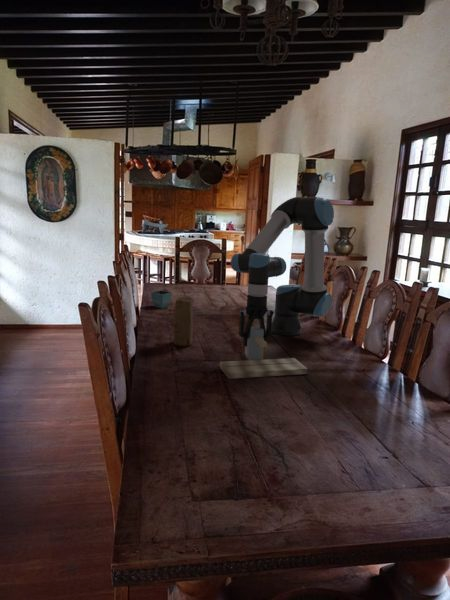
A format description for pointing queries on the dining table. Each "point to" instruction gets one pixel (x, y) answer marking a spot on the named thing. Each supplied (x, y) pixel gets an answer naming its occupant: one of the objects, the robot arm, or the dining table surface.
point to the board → (262, 368)
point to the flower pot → (161, 298)
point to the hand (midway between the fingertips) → (253, 353)
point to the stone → (183, 321)
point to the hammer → (256, 343)
